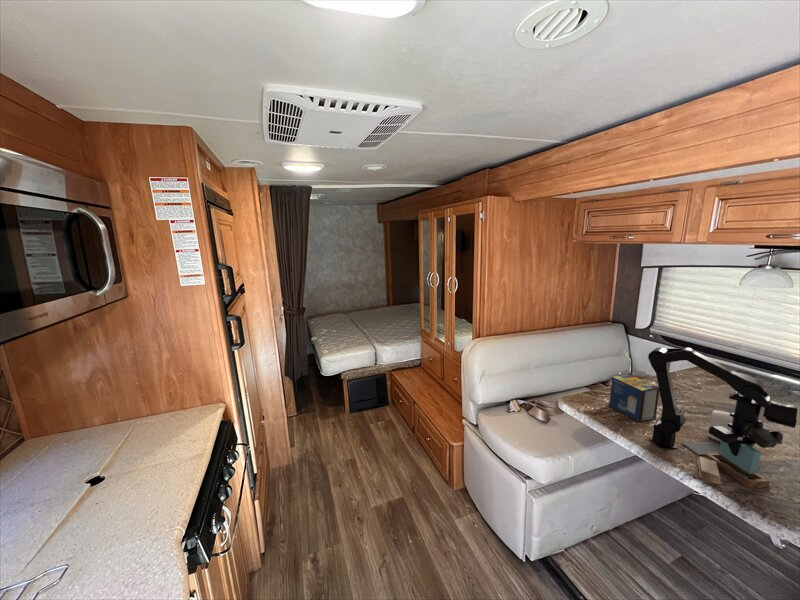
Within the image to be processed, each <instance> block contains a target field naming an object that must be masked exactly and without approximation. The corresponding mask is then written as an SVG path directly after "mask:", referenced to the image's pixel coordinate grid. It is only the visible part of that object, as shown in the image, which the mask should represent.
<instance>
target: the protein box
mask: <svg viewBox="0 0 800 600" xmlns="http://www.w3.org/2000/svg"><path fill="white" fill-rule="evenodd" d="M610 387H611V388H610V392H609V393H610V395H609V402H608V403H609V404H608V406H609V407H611V408H613V409H615V410H617V411H619V412H620V413H622V414H624V415H626V416H627V417H628V418H631V419H632V420H634V421H636V422H644V421H648V420H655V419H656V418H657V412H658V411H657V410H658V405H659V404H658V403H659V396H660V391H659V386H658V385H655V384H652V383H650V382H647V381H645V380H643V379H640V378H638V377H636V376H633V375H631V374H622V375H616V376H612V377H611V386H610Z"/></svg>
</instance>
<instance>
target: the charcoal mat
mask: <svg viewBox="0 0 800 600" xmlns="http://www.w3.org/2000/svg"><path fill="white" fill-rule="evenodd" d="M681 445H683V447H685V448H687V449H688V450H690V451H691V452H692V453H694V454H696V455H697V456H698V457H699V456H700V457H702V456H705V454H706V453H719V448H720V445H719V444H718V443H716V442H715V441H697V442H681Z"/></svg>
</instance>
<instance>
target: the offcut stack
mask: <svg viewBox="0 0 800 600" xmlns="http://www.w3.org/2000/svg"><path fill="white" fill-rule="evenodd" d="M696 461H697V462H696V463H697V468H698V469H699V470H698V475H699V479H701V480H704V479H706V480H705V481H707V480H709V481H708V482H710V481H712V482H711V483H714V484H716V483H717V485H719V484H720V485H721V476H720V472H719V467H717V463H716V461H713V460H709V459H706V458H705V457H702V456H699V455H698V459H697V460H696Z"/></svg>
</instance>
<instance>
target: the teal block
mask: <svg viewBox="0 0 800 600" xmlns="http://www.w3.org/2000/svg"><path fill="white" fill-rule="evenodd" d="M719 446H720V448H719V454H720V455H721V456H723V457H724V458H726V459H728V460H729V461H731V462H732V463H734V464H735V465H737V466H739V467H740V468H742V469H743V470H745V471H746V472H748V473H749V474H752V473H758V468H759V464H760V458H761V455H762V452H761V451H760V450H758V449H756V448H755V447H754V446H753V447H751V446H749V445H748V444H741V446H740V449H739V452H738V454H737V456H734V455H733V454H732V452H731V450H730V448H729V446H728V444H727V443H726V442H723V441H721V442H720V445H719Z"/></svg>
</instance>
